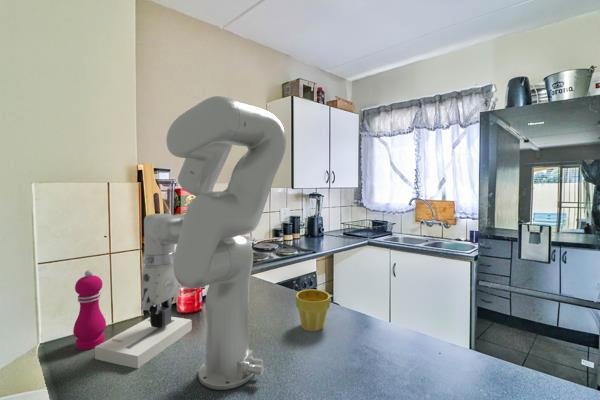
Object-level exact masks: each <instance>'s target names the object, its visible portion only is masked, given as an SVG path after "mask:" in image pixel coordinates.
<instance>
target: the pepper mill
mask: <svg viewBox="0 0 600 400" xmlns="http://www.w3.org/2000/svg"><path fill="white" fill-rule="evenodd" d="M102 288H103V280H102V279H101V277H100V276H98V275H94V273H93V270H91V269H88V270H85V272H84V276H82V277H80V278H79V279H78V280H77V281H76V283H75V285H74V290H75V293H77V295H78V296H77V302H78V303H79V312H78V315H77V318H76V320H75V322H74V324H73V331H72V332H73V336H74V337H76V340H75V348H76V349H77V350H80V351H86V350H91V349H95V347H96V346H98V345H100V344H101V343H103V342H105V333H104V331H105V330H106V328H107V321H106V318H105V316H104V315H103V312H102V311H101V309H100V303H99V301H100V299H101V298H102V297H101V294H102V293H101V292H100V291H101V290H102Z"/></svg>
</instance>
